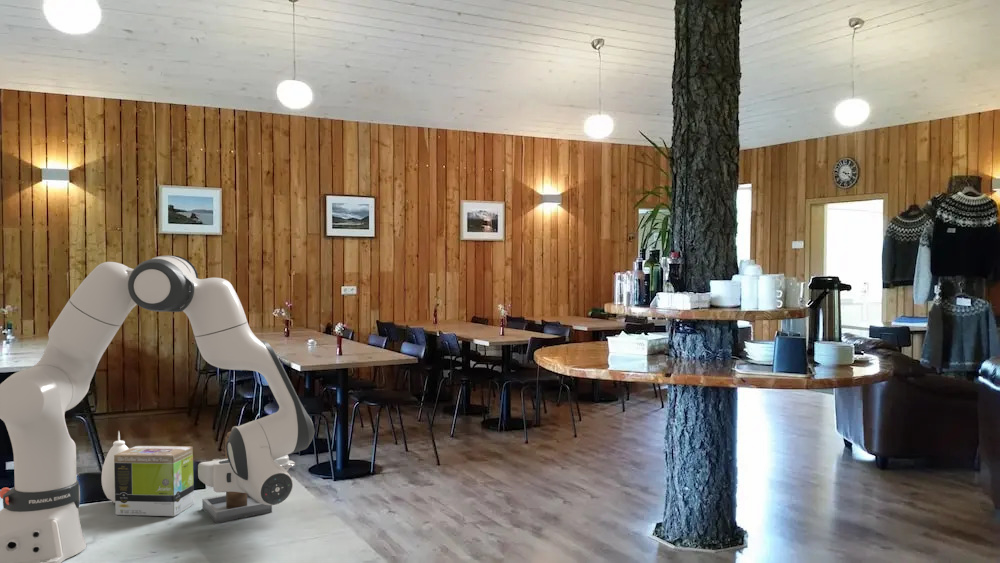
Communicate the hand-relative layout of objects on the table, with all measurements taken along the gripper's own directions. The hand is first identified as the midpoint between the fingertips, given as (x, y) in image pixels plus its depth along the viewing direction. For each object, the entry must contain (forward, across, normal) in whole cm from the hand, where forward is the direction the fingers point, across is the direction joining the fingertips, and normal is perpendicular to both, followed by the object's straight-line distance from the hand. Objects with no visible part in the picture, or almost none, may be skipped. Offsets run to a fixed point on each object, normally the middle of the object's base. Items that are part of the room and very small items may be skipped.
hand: (235, 459), depth 186 cm
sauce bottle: (+22, +22, +12) cm, 34 cm away
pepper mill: (-1, 0, +11) cm, 11 cm away
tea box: (+11, +16, +13) cm, 23 cm away
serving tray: (-1, 0, +12) cm, 12 cm away
